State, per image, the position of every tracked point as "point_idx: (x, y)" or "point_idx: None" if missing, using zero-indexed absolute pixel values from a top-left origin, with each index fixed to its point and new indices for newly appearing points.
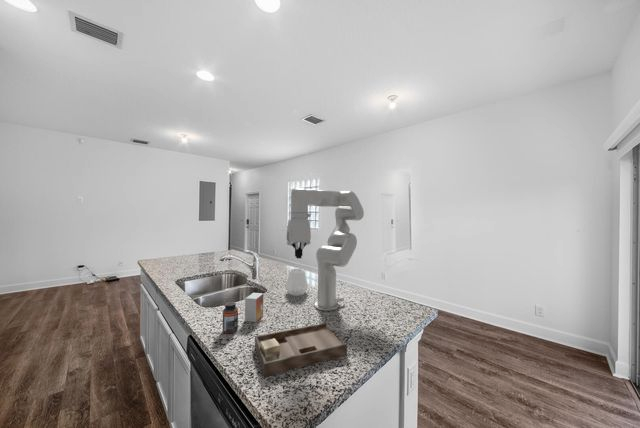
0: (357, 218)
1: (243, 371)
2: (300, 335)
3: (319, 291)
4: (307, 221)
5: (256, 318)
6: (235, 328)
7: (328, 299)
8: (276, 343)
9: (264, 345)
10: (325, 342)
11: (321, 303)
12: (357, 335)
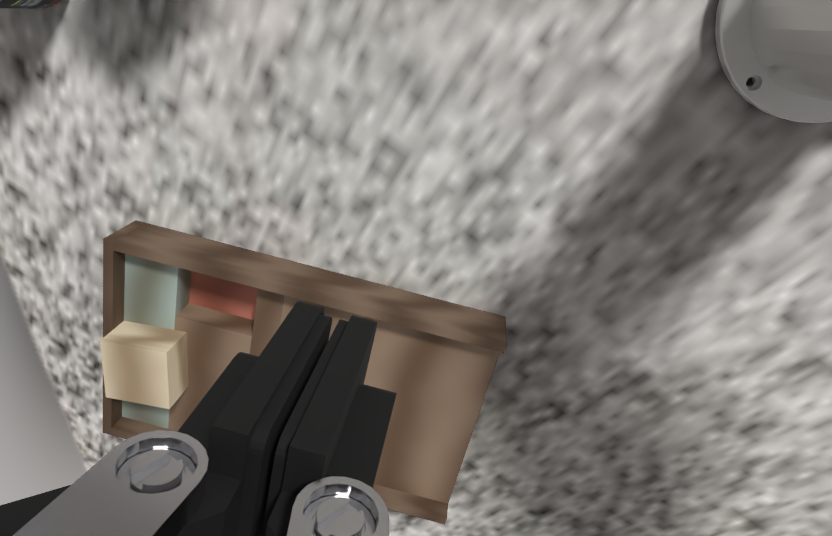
0: None
1: (70, 338)
2: (332, 327)
3: (821, 4)
4: None
5: None
6: (44, 4)
7: (819, 94)
8: (160, 390)
9: (109, 374)
10: (398, 435)
11: (764, 36)
12: (612, 428)
